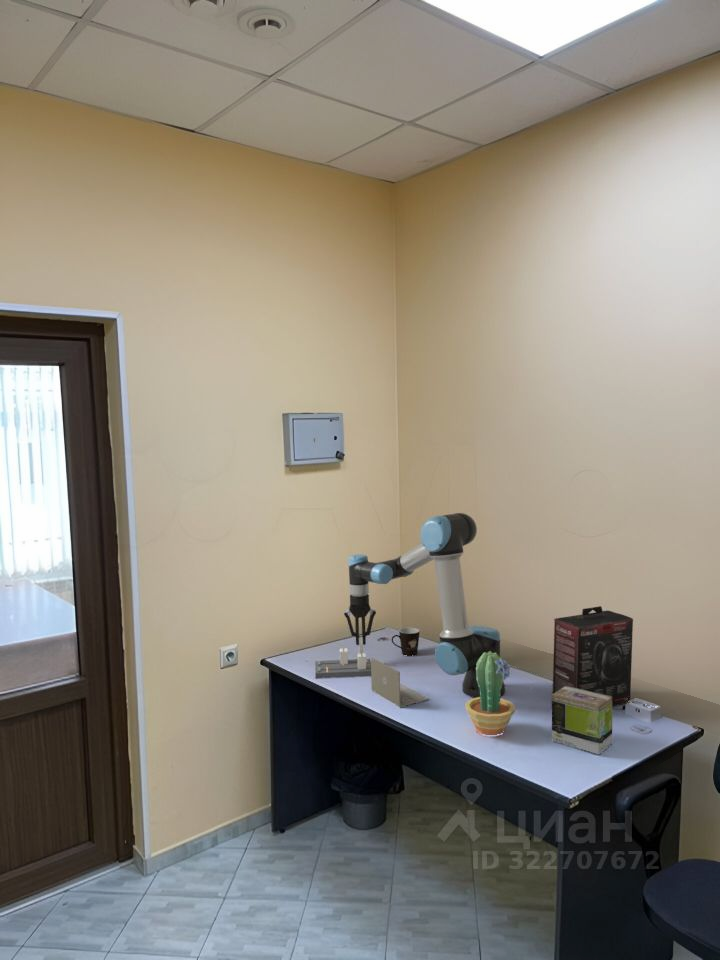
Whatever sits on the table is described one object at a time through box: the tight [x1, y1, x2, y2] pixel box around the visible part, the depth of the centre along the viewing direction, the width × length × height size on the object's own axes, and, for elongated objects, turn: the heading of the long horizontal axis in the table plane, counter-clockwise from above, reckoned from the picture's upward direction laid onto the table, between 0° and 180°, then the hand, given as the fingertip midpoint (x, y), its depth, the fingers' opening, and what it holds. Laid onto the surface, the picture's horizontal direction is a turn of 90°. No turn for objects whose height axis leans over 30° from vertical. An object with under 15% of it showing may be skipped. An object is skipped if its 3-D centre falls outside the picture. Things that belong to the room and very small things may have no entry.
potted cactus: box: [464, 651, 516, 735], centre depth 216 cm, size 15×15×25 cm
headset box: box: [552, 605, 634, 706], centre depth 236 cm, size 24×13×33 cm, turn 115°
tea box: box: [551, 686, 613, 755], centre depth 208 cm, size 15×10×15 cm
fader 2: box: [357, 652, 367, 670], centre depth 270 cm, size 4×3×5 cm
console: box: [314, 658, 371, 679], centre depth 273 cm, size 14×22×2 cm, turn 94°
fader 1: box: [339, 647, 349, 664], centre depth 276 cm, size 4×3×5 cm
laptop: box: [370, 657, 429, 708], centre depth 247 cm, size 18×12×13 cm
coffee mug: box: [391, 627, 421, 657], centre depth 292 cm, size 12×9×10 cm
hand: (361, 652), depth 276 cm, fingers closed
